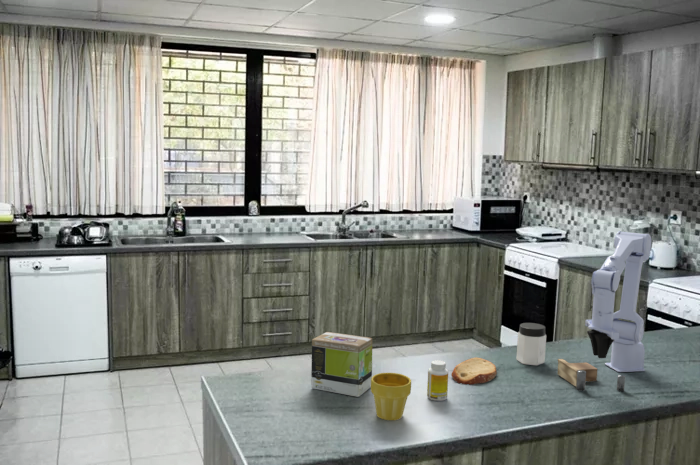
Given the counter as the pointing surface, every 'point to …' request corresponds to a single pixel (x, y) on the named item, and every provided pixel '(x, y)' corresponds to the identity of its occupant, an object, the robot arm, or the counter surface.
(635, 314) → the robot arm
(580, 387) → the hinge post
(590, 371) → the block
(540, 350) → the jar
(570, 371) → the gate
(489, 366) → the bread slice
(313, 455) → the counter surface
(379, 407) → the plant pot
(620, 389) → the post
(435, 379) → the supplement bottle
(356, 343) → the tea box
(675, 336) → the counter surface
